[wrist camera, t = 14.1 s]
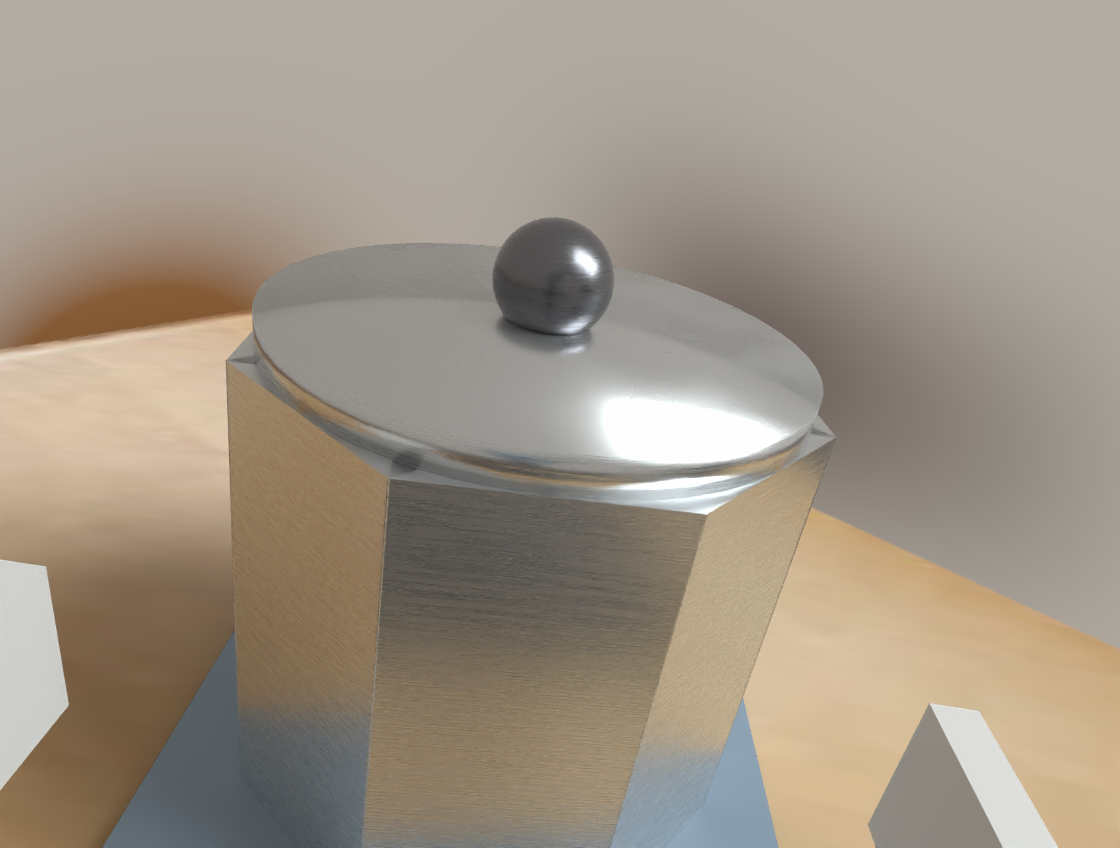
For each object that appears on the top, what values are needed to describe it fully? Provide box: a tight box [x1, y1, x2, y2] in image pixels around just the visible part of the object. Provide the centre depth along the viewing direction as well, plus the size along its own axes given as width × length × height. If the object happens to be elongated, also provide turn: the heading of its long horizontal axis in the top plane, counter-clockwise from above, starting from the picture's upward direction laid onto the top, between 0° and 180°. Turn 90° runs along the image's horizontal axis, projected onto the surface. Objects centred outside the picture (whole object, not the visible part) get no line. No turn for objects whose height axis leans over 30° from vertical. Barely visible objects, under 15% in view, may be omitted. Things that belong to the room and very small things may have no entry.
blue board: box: [103, 631, 778, 848], centre depth 21 cm, size 16×14×1 cm
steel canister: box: [226, 217, 836, 848], centre depth 19 cm, size 12×12×14 cm
